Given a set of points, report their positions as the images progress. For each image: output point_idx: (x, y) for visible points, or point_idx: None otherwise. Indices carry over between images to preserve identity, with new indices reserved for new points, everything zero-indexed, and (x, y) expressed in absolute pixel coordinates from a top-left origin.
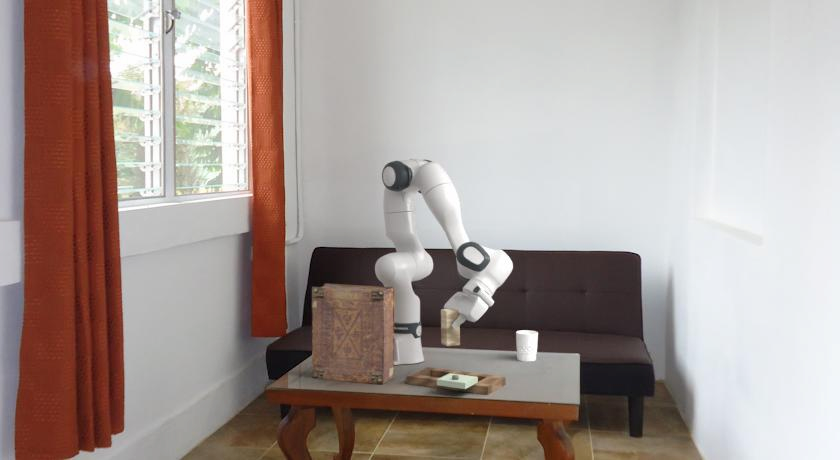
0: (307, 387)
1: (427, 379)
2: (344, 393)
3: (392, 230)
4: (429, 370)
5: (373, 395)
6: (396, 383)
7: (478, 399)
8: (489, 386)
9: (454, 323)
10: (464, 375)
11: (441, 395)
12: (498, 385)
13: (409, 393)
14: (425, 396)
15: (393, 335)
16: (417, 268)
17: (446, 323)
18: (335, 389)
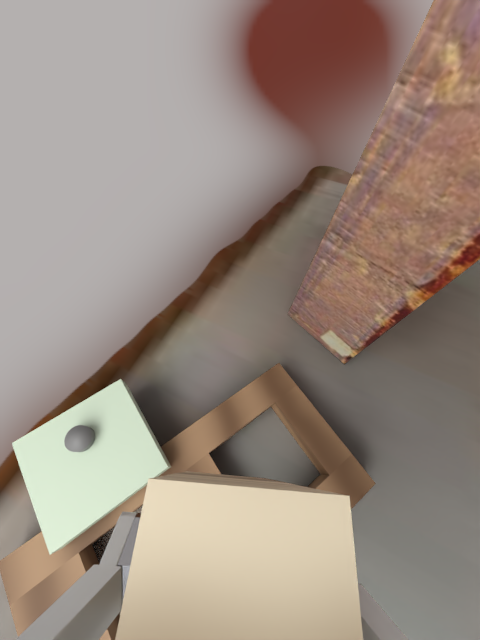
0: (317, 199)
1: (222, 403)
2: (250, 229)
3: None
4: (323, 464)
5: (209, 264)
6: (287, 347)
7: (2, 482)
8: (4, 578)
9: (108, 547)
10: (104, 506)
11: None
12: None
13: (183, 333)
14: (135, 354)
15: (414, 300)
16: None
17: (174, 474)
18: (285, 227)
